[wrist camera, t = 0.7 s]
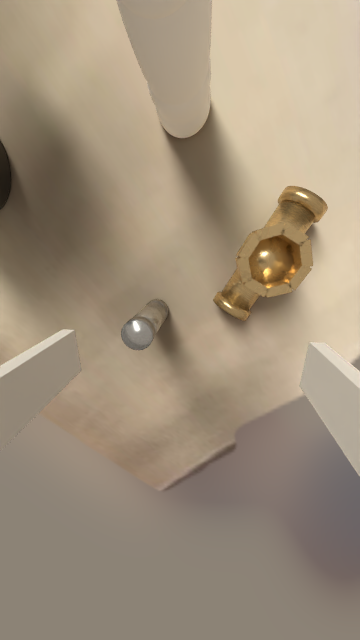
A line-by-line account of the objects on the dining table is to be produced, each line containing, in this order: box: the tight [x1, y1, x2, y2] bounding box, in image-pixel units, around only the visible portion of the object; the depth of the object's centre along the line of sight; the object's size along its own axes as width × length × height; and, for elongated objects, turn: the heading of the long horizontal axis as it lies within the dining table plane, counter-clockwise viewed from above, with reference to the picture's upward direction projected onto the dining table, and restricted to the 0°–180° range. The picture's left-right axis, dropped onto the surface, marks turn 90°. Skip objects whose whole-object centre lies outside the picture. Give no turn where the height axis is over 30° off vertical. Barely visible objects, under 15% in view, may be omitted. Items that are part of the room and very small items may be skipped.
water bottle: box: [117, 0, 212, 138], centre depth 17 cm, size 7×7×25 cm
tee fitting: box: [213, 186, 328, 321], centre depth 29 cm, size 17×8×8 cm, turn 151°
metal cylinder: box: [121, 299, 169, 350], centre depth 33 cm, size 4×4×12 cm
